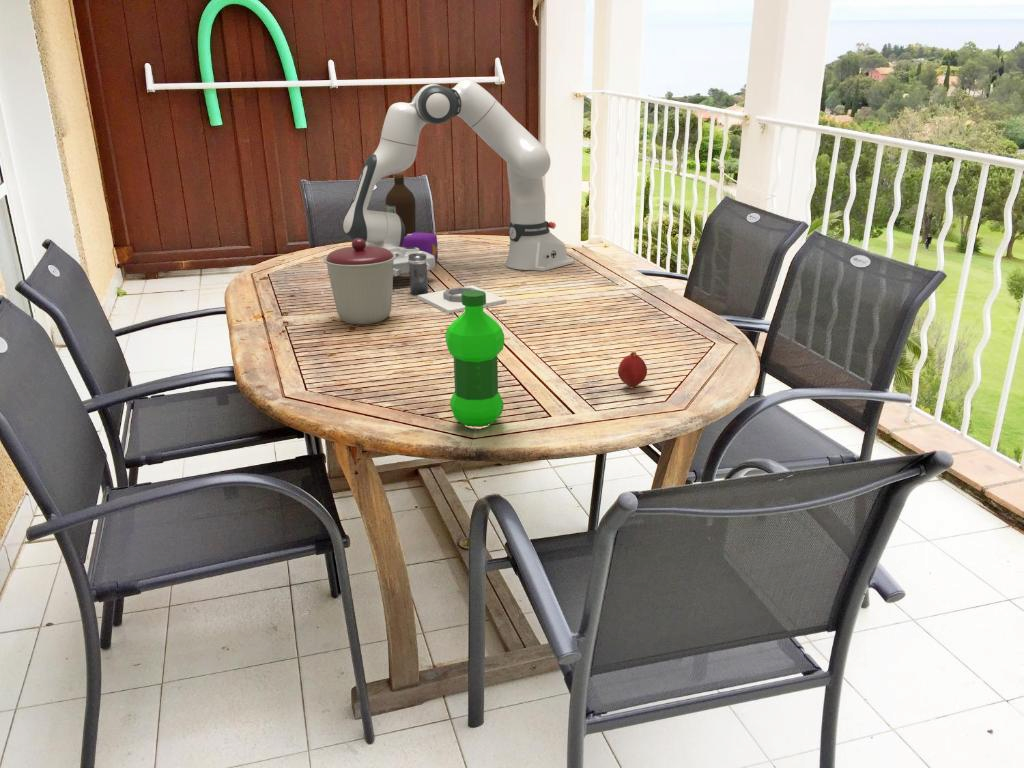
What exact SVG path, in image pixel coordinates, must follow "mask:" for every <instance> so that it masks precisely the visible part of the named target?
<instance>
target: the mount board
mask: <svg viewBox="0 0 1024 768" xmlns="http://www.w3.org/2000/svg"><path fill="white" fill-rule="evenodd" d="M469 290H480V291H484V292H485V293H486V304H484V305H483V308H487V307H486V306H488V307H493V306H497V305H502V304H503V305H504V304H507V298H504V297H501V296H499V295H497V294H494V293H492V292H489V291H487V290H486V289H485V290H484V289H482V288H479V287H477V286H476V285H473V284H472V285H469V286H467V285H466V286H461V287H459V286H457V287H453V288H447V289H445V290H439V291H434V292H428V293H427V294H421V295H417V299H418V300H419V301H422V302H424V303H426V304H427V305H430V306H432V307H434V306H435V307H434V308H436V307H437V308H436V309H438V308H439V309H438V310H440V309H441V310H440V311H442V310H443V311H442V312H444V311H445V312H444V313H446V312H447V313H446V314H448V313H452V314H455V313H454V312H458V313H460V312H459V311H463V312H465V311H464V310H465V306H464V305H463V304H462V298H461V293H462V292H464V291H469ZM492 305H493V306H492Z"/></svg>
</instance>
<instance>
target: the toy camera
mask: <svg viewBox="0 0 1024 768" xmlns="http://www.w3.org/2000/svg"><path fill="white" fill-rule="evenodd" d="M402 247H404V248H405V247H416V248H419V250H420V251H424V252H427V253H429V254H431V255H433V256H434V257H435V262H436V261H437V260H438V258H439V257H438V256H439V255H438V253H439V252H438V250H439V249H438V236H437V235H436V233H430V232H416V233H411V234H407V236H405V237H404V241H403V244H402Z"/></svg>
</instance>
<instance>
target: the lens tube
mask: <svg viewBox="0 0 1024 768" xmlns="http://www.w3.org/2000/svg"><path fill="white" fill-rule="evenodd" d="M408 257H409V259H408V263H409V272H408V273H409V287H410V288H409V289H410V290H409V291H410V294H411V295H412V296H418V295H421V294H427V293H429V285H428V271H427V258H426V254H421V253H416V254H410V255H409V256H408Z"/></svg>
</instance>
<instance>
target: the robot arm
mask: <svg viewBox="0 0 1024 768" xmlns="http://www.w3.org/2000/svg"><path fill="white" fill-rule="evenodd" d="M455 117H459V118H460V119H462V120H463V121H464V123H465V124H467V125H468V126H469V127H470V129H472V130H473V131H474V133H476V134H477V136H479V137H480V138H481V140H483V141H484V143H485V144H487V145H488V147H490V148H491V150H493V151H494V152H495V153H496V154H497V155H498V156H499V157H501V158H502V159H503V161H505V162H506V168H507V169H506V170H507V171H506V173H507V180H508V189H509V199H510V200H509V201H510V207H509V208H510V209H509V210H510V211H509V212H510V213H509V214H510V220H509V222H508V226H509V227H508V234H509V235H508V236H509V248H508V255H507V260H506V263H505V266H506V267H508V268H510V269H513V270H514V269H515V270H523V271H540V272H541V271H542V272H545V271H549V270H552V269H557V268H560V267H563V266H568V265H571V264H575V260H574V259H573V257H571V256H568V252H567V247H566V244H565V242H564V241H562V240H561V239H560V238H558V237H557V236H555V235H554V234H553V233H552V232H550V231H551V230H550V229H552V230H555V229H556V227H557V224H556V223H555V222H554V221H547V220H546V194H545V189H544V188H545V187H544V181H543V177H544V176H546V174H547V173H548V171H549V170H550V168H551V157H550V156H551V155H550V154H549V151H548V149H547V148H546V147H545V146H544V145H543V144H542V143H541V142H540V141H539V140H538V139H537V138H536V137H535V136H534V135H533V134H532V133H530V131H528V130H527V129H526V128H525V127H524V126H523V125H522V124H521V123H520V122H518V120H516V119H515V118H514V116H512V115H511V114H510V112H509V111H507V109H506V108H505V107H504V106H503V105H502V104H501V103H500V102H499V101H498V100H497V99H496V98H495V97H494V96H493V95H492V94H491V93H489V91H488V90H486V89H485V88H484V87H483V86H481V85H480V84H479V83H477V82H476V81H475V80H473V79H469V78H468V79H463V80H461V81H459V82H458V83H456V85H454V87H452V88H450V87H446V86H444V85H440V84H438V83H437V84H436V83H431V84H426V85H424V86H422V87H420V88H419V89H418V90H417V91H416V93H414V95H413V96H412V98H411V99H410V100H409V101H408V102H404V101H403V102H402V101H400V102H395V103H393V104H391V105H390V106H389V108H388V109H387V112H386V115H385V118H384V122H383V126H382V128H381V134H380V139H379V143H378V146H377V148H376V149H375V150H374V153H372V154H371V155H369V156H367V157H366V160H365V161H364V163H363V165H362V169H361V170H360V171H361V172H360V175H359V178H358V180H357V183H356V187H355V190H354V192H353V196H352V199H351V201H350V204H349V207H348V209H347V211H346V213H345V216H344V219H343V223H342V231H343V233H344V234H345V236H346V237H347V238H348V239H349V240H350V241H351V242H352V241H353V240H354V239H357V238H361V239H363V240H365V242H366V246H376V247H382V248H385V249H388V250H389V251H391V252H393V253H395V254H396V258H395V259H394V263H393V278H396V277H399V276H401V275H403V274H407V273H409V263H408V259H409V257H408V256H409V255H410V254H416V253H421V254H426V258H427V272H429V271H431V270H432V269H433V270H434V269H435V268H436V261H435V257H434V256H433V255H431V254H429V253H427V252H424V251H420V250H419V248H416V247H405V248H404V247H401V246H402V244H403V241H404V237H405V226H404V224H403V221H402V219H401V218H400V216H399V215H398V214H396V213H390V212H386V211H378V210H369V209H368V207H369V203H370V201H371V197H372V194H373V192H374V188H375V186H376V184H377V183H378V182H379V181H380V180H382V179H383V178H385V177H388V176H391V175H392V176H393V175H394V174H396V173H403V172H405V171H406V170H407V169H409V168H410V167H411V166H412V165H413V164H414V162H415V159H416V156H417V152H418V145H419V140H420V139H419V138H420V134H421V131H422V130H423V128H424V126H426V125H427V124H431V125H432V124H433V125H442V124H445V123H447V122H448V121H450V120H452V119H454V118H455Z"/></svg>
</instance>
